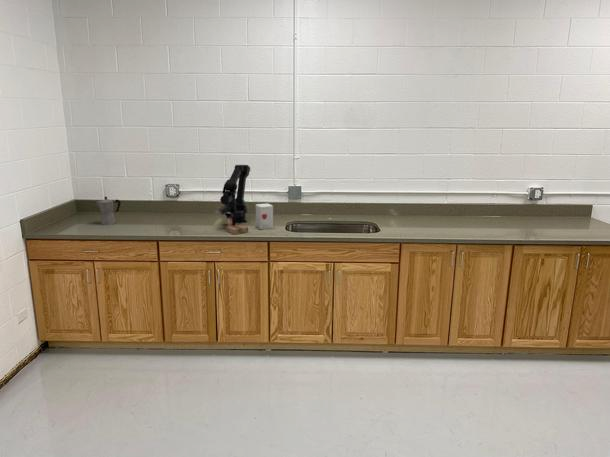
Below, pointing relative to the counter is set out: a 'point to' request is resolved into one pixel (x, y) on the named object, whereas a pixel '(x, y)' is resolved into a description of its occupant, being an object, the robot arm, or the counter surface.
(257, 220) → the supplement box
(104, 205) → the coffeepot
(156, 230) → the counter surface
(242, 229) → the tan flat block
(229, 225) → the terracotta cylinder
